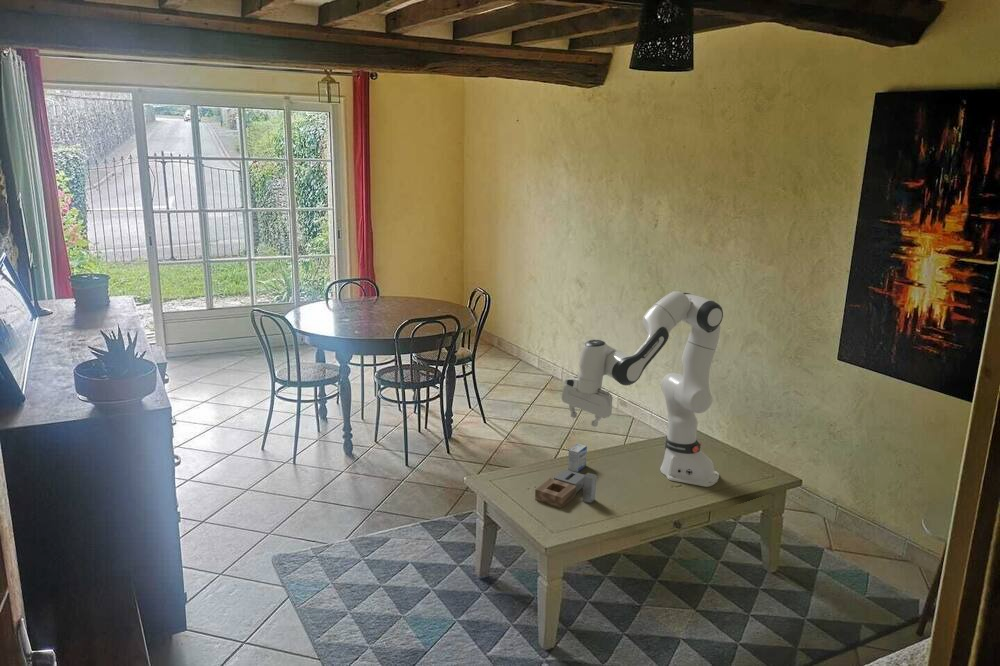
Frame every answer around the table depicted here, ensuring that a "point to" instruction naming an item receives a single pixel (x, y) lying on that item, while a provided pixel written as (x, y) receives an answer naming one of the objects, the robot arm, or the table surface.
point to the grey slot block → (571, 478)
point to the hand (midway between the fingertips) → (583, 421)
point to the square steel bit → (589, 488)
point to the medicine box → (577, 457)
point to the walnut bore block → (555, 492)
